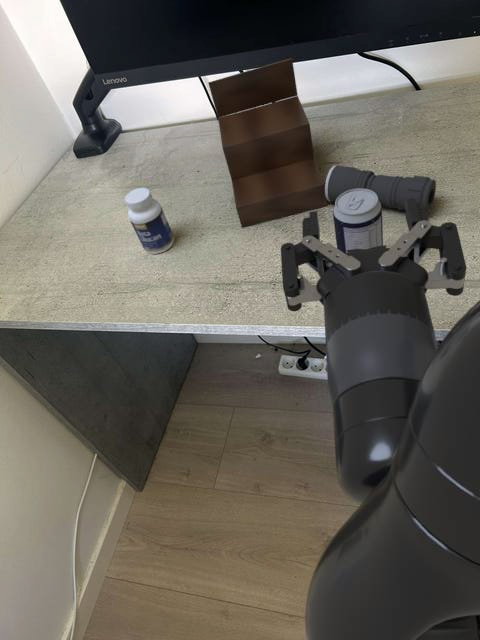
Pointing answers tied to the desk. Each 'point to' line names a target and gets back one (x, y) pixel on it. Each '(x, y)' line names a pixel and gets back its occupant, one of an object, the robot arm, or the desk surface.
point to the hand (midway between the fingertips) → (360, 212)
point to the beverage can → (358, 220)
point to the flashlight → (380, 186)
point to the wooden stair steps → (267, 144)
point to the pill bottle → (149, 221)
